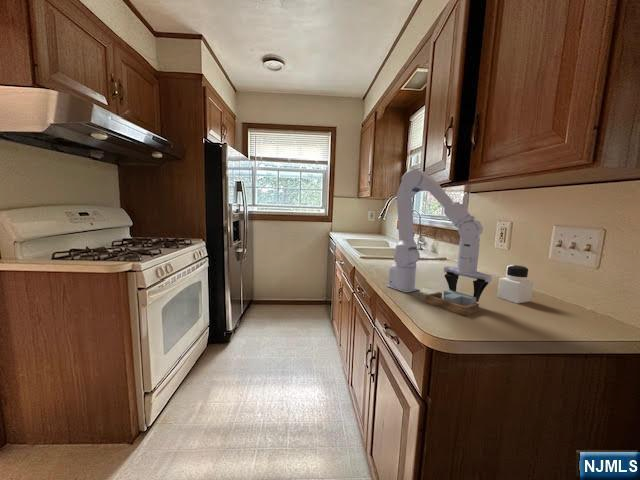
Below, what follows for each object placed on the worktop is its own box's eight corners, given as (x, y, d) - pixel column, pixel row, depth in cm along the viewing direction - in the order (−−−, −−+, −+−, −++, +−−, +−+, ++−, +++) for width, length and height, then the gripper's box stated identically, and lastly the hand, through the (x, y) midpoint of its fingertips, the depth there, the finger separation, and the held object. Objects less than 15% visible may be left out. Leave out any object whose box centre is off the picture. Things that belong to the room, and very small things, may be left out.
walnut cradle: (425, 302, 89) (426, 295, 89) (438, 298, 93) (438, 292, 93) (465, 316, 78) (466, 308, 78) (478, 311, 82) (479, 304, 82)
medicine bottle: (530, 301, 94) (535, 267, 92) (517, 303, 91) (521, 268, 90) (510, 295, 100) (513, 263, 99) (496, 297, 98) (500, 264, 96)
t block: (434, 303, 88) (435, 293, 88) (448, 299, 93) (449, 289, 92) (461, 312, 81) (462, 301, 81) (475, 308, 85) (476, 297, 85)
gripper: (498, 260, 85) (493, 302, 86) (453, 253, 96) (449, 290, 98) (487, 262, 81) (482, 306, 82) (441, 254, 92) (438, 293, 94)
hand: (463, 298), depth 90 cm, fingers open, 7 cm apart
